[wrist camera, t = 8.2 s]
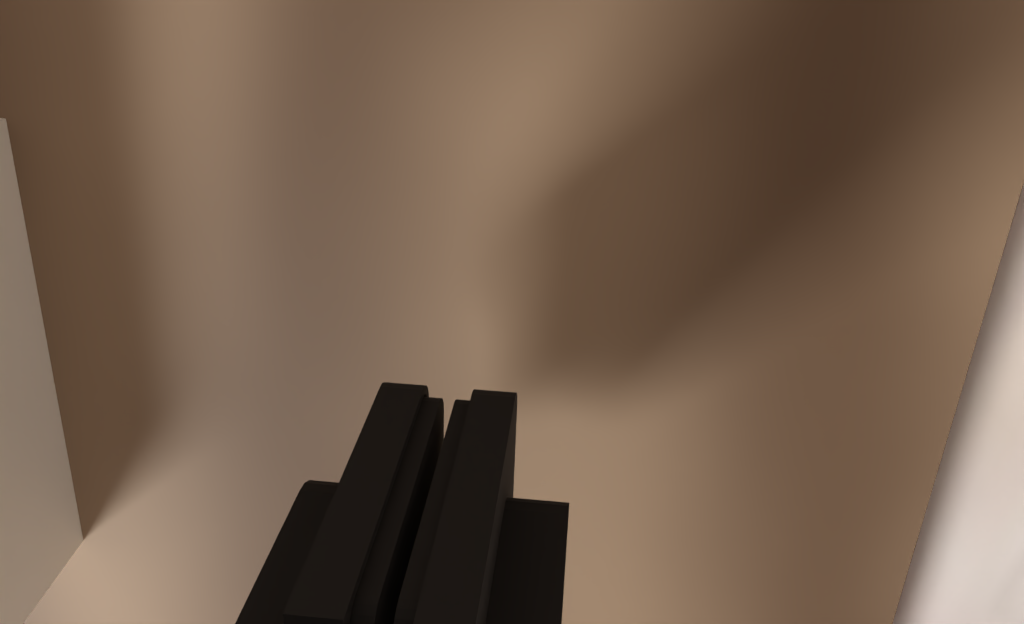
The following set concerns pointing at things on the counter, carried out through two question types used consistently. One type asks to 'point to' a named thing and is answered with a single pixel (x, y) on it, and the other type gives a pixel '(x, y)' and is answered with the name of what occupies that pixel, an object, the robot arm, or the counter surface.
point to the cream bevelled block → (28, 425)
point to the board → (517, 275)
